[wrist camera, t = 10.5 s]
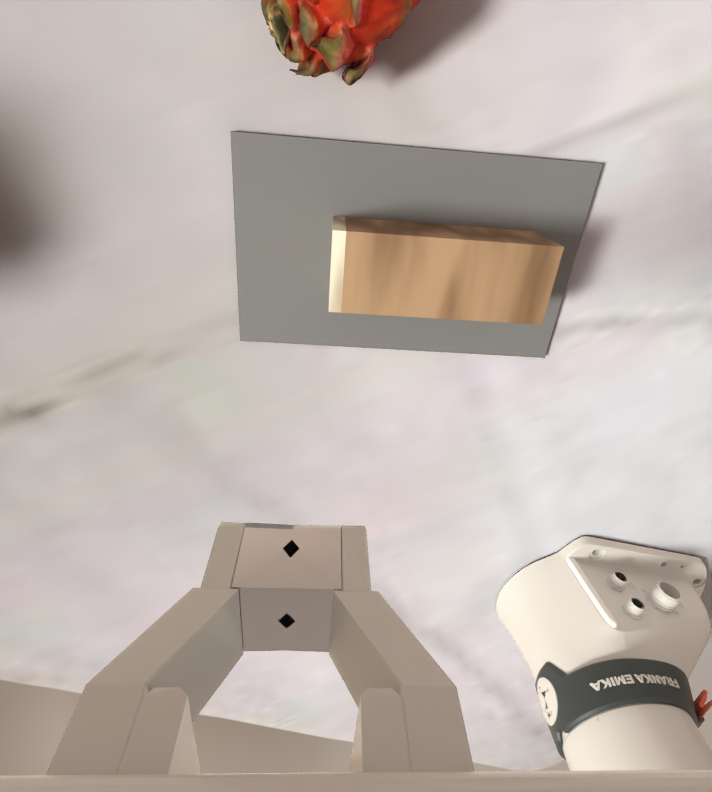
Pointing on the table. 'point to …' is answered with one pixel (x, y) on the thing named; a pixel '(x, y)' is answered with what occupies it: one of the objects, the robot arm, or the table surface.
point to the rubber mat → (387, 200)
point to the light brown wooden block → (441, 271)
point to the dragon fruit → (333, 32)
